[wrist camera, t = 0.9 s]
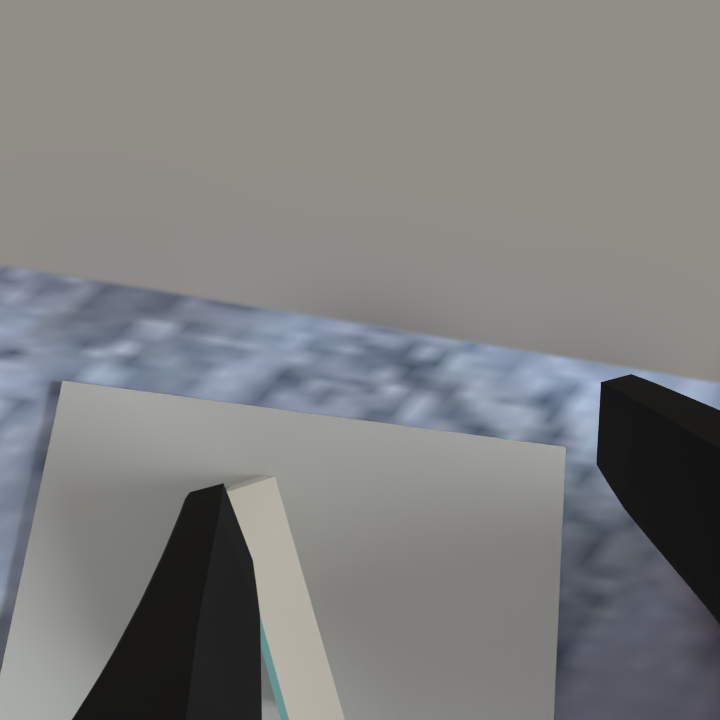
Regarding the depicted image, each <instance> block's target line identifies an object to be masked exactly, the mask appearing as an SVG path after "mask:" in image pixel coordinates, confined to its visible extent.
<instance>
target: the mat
mask: <svg viewBox="0 0 720 720" xmlns="http://www.w3.org/2000/svg"><path fill="white" fill-rule="evenodd" d="M565 458H566V447H561V446H554V445H546V444H539V443H531V442H524V441H516V440H508V439H501V438H493V437H486V436H478V435H471V434H463V433H456V432H448V431H440V430H433V429H425V428H418V427H410V426H403V425H395V424H387V423H380V422H372V421H365V420H357V419H350V418H342V417H334V416H327V415H319V414H312V413H304V412H297V411H289V410H281V409H274V408H266V407H259V406H251V405H244V404H236V403H228V402H221V401H213V400H206V399H198V398H191V397H183V396H175V395H168V394H160V393H153V392H145V391H138V390H130V389H122V388H115V387H107V386H100V385H92V384H85V383H77V382H69V381H62V386H61V390H60V395H59V400H58V405H57V409H56V414H55V419H54V423H53V428H52V433H51V438H50V442H49V447H48V452H47V456H46V461H45V466H44V471H43V475H42V480H41V485H40V489H39V494H38V499H37V503H36V508H35V513H34V518H33V522H32V527H31V532H30V536H29V541H28V546H27V551H26V555H25V560H24V565H23V569H22V574H21V579H20V584H19V588H18V593H17V598H16V602H15V607H14V612H13V616H12V621H11V626H10V631H9V635H8V640H7V645H6V649H5V654H4V659H3V664H2V668H1V673H0V720H72V718H73V717H74V715H75V714H76V712H77V711H78V709H79V708H80V706H81V704H82V703H83V701H84V700H85V698H86V697H87V695H88V693H89V692H90V690H91V689H92V687H93V685H94V684H95V682H96V680H97V679H98V677H99V675H100V674H101V672H102V670H103V669H104V667H105V665H106V664H107V662H108V660H109V658H110V657H111V655H112V653H113V651H114V650H115V648H116V646H117V644H118V642H119V640H120V638H121V637H122V635H123V633H124V631H125V629H126V627H127V625H128V623H129V622H130V620H131V618H132V616H133V614H134V612H135V610H136V608H137V607H138V605H139V603H140V601H141V599H142V597H143V595H144V592H145V590H146V588H147V586H148V584H149V582H150V580H151V578H152V575H153V573H154V571H155V569H156V567H157V565H158V563H159V561H160V558H161V556H162V554H163V552H164V549H165V547H166V545H167V542H168V540H169V538H170V535H171V533H172V531H173V528H174V526H175V523H176V521H177V518H178V516H179V513H180V511H181V508H182V506H183V503H184V500H185V498H186V497H187V495H188V494H189V492H192V491H196V490H200V489H204V488H207V487H211V486H215V485H219V484H222V483H224V486H225V487H228V486H232V485H235V484H238V483H241V482H244V481H247V480H251V479H254V478H257V477H260V476H263V475H270V476H274V477H275V479H276V482H277V486H278V489H279V493H280V496H281V499H282V503H283V506H284V510H285V513H286V517H287V520H288V524H289V527H290V531H291V534H292V538H293V541H294V545H295V548H296V552H297V555H298V559H299V562H300V566H301V569H302V573H303V576H304V580H305V583H306V586H307V590H308V593H309V597H310V600H311V604H312V607H313V611H314V614H315V618H316V621H317V625H318V628H319V632H320V635H321V639H322V642H323V646H324V649H325V653H326V656H327V660H328V663H329V667H330V670H331V673H332V677H333V680H334V684H335V687H336V691H337V694H338V698H339V701H340V705H341V708H342V712H343V715H344V719H345V720H554V705H555V682H556V660H557V638H558V615H559V593H560V570H561V548H562V525H563V503H564V481H565ZM261 690H262V720H281V718H280V715H279V711H278V707H277V704H276V700H275V697H274V693H273V689H272V686H271V682H270V678H269V675H268V671H267V668H266V664H265V660H264V657H263V653H262V649H261Z"/></svg>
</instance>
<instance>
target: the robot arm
mask: <svg viewBox="0 0 720 720" xmlns="http://www.w3.org/2000/svg"><path fill="white" fill-rule="evenodd" d="M597 466H598V468H599V469H600V471H601V472H602V474H603V476H604V477H605V479H606V481H607V482H608V484H609V486H610V487H611V489H612V490H613V492H614V493H615V495H616V496H617V498H618V499H619V501H620V502H621V504H622V506H623V507H624V509H625V510H626V511H627V512H628V514H629V515H630V516H631V517H632V519H633V520H634V521H635V522H636V523H637V525H638V526H639V527H640V528H641V529H642V531H643V532H644V533H645V534H646V536H647V537H648V538H649V539H650V540H651V542H652V543H653V544H654V545H655V546H656V548H657V549H658V550H659V551H660V552H661V553H662V555H663V556H664V557H665V558H666V559H667V561H668V562H669V563H670V564H671V565H672V567H673V568H674V569H675V570H676V571H677V572H678V574H679V575H680V576H681V577H682V578H683V580H684V581H685V582H686V583H687V584H688V586H689V587H690V588H691V589H692V590H693V591H694V593H695V594H696V595H697V596H698V597H699V599H700V600H701V601H702V602H703V603H704V605H705V606H706V607H707V608H708V610H709V611H710V612H711V613H712V615H713V616H714V617H715V619H716V620H717V621H718V622H719V624H720V410H718V409H715V408H713V407H711V406H708V405H706V404H703V403H701V402H699V401H696V400H694V399H692V398H689V397H687V396H685V395H682V394H680V393H677V392H675V391H673V390H670V389H668V388H665V387H663V386H661V385H658V384H656V383H653V382H651V381H648V380H645V379H643V378H640V377H637V376H635V375H632V374H630V375H627V376H623V377H619V378H615V379H612V380H608V381H604V382H601V394H600V412H599V430H598V448H597ZM72 720H262V690H261V632H260V610H259V602H258V594H257V586H256V579H255V572H254V564H253V559H252V557H251V554H250V552H249V549H248V546H247V544H246V541H245V538H244V536H243V533H242V530H241V528H240V525H239V523H238V520H237V517H236V515H235V512H234V509H233V507H232V504H231V501H230V499H229V496H228V494H227V491H226V488H225V486H224V483H222V484H219V485H215V486H211V487H207V488H204V489H200V490H196V491H192V492H189V494H188V495H187V497H186V498H185V500H184V503H183V506H182V508H181V511H180V513H179V516H178V518H177V521H176V523H175V526H174V528H173V531H172V533H171V535H170V538H169V540H168V542H167V545H166V547H165V549H164V552H163V554H162V556H161V558H160V561H159V563H158V565H157V567H156V569H155V571H154V573H153V575H152V578H151V580H150V582H149V584H148V586H147V588H146V590H145V592H144V595H143V597H142V599H141V601H140V603H139V605H138V607H137V608H136V610H135V612H134V614H133V616H132V618H131V620H130V622H129V623H128V625H127V627H126V629H125V631H124V633H123V635H122V637H121V638H120V640H119V642H118V644H117V646H116V648H115V650H114V651H113V653H112V655H111V657H110V658H109V660H108V662H107V664H106V665H105V667H104V669H103V670H102V672H101V674H100V675H99V677H98V679H97V680H96V682H95V684H94V685H93V687H92V689H91V690H90V692H89V693H88V695H87V697H86V698H85V700H84V701H83V703H82V704H81V706H80V708H79V709H78V711H77V712H76V714H75V715H74V717H73V718H72Z"/></svg>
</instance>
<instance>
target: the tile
mask: <svg viewBox="0 0 720 720" xmlns="http://www.w3.org/2000/svg"><path fill="white" fill-rule="evenodd" d="M225 488H226V491H227V494H228V496H229V499H230V501H231V504H232V507H233V509H234V512H235V515H236V517H237V520H238V523H239V525H240V528H241V530H242V533H243V536H244V538H245V541H246V544H247V546H248V549H249V552H250V554H251V557H252V559H253V564H254V572H255V579H256V586H257V594H258V602H259V610H260V632H261V649H262V653H263V657H264V660H265V664H266V668H267V671H268V675H269V678H270V682H271V686H272V689H273V693H274V697H275V700H276V704H277V707H278V711H279V715H280V718H281V720H345V719H344V715H343V712H342V708H341V705H340V701H339V698H338V694H337V691H336V687H335V684H334V680H333V677H332V673H331V670H330V667H329V663H328V660H327V656H326V653H325V649H324V646H323V642H322V639H321V635H320V632H319V628H318V625H317V621H316V618H315V614H314V611H313V607H312V604H311V600H310V597H309V593H308V590H307V586H306V583H305V580H304V576H303V573H302V569H301V566H300V562H299V559H298V555H297V552H296V548H295V545H294V541H293V538H292V534H291V531H290V527H289V524H288V520H287V517H286V513H285V510H284V506H283V503H282V499H281V496H280V493H279V489H278V486H277V482H276V479H275V477H274V476H270V475H263V476H260V477H257V478H254V479H251V480H247V481H244V482H241V483H238V484H235V485H232V486H228V487H225Z"/></svg>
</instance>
